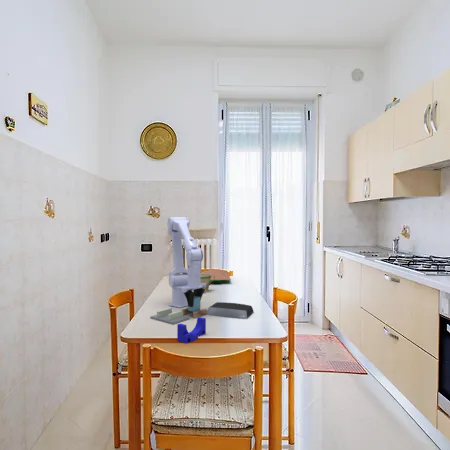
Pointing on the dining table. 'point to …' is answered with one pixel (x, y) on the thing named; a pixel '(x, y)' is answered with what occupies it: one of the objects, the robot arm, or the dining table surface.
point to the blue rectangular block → (195, 304)
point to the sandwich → (217, 275)
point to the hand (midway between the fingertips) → (194, 305)
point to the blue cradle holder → (194, 334)
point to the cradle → (195, 314)
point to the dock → (170, 316)
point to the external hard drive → (230, 310)
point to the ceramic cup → (206, 280)
